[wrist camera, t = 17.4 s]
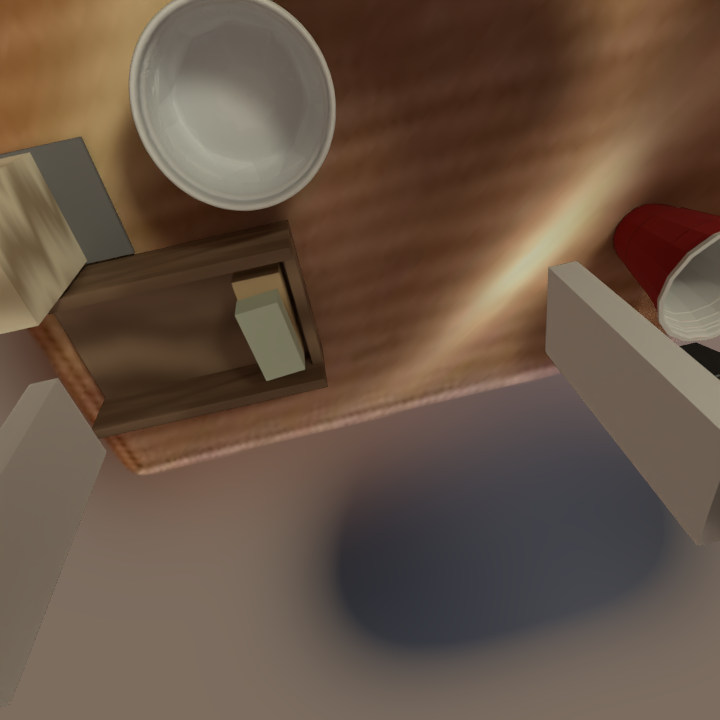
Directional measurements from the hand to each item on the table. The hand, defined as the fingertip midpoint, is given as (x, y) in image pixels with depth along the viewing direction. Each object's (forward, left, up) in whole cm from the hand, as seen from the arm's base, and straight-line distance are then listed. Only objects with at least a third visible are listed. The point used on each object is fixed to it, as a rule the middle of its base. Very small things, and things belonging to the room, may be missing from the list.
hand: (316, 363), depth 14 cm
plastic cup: (+16, +31, -33) cm, 48 cm away
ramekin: (-3, -3, -33) cm, 33 cm away
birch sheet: (+2, -21, -32) cm, 39 cm away
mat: (+2, -21, -33) cm, 39 cm away
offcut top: (+14, -6, -28) cm, 32 cm away
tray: (+14, -13, -33) cm, 38 cm away
